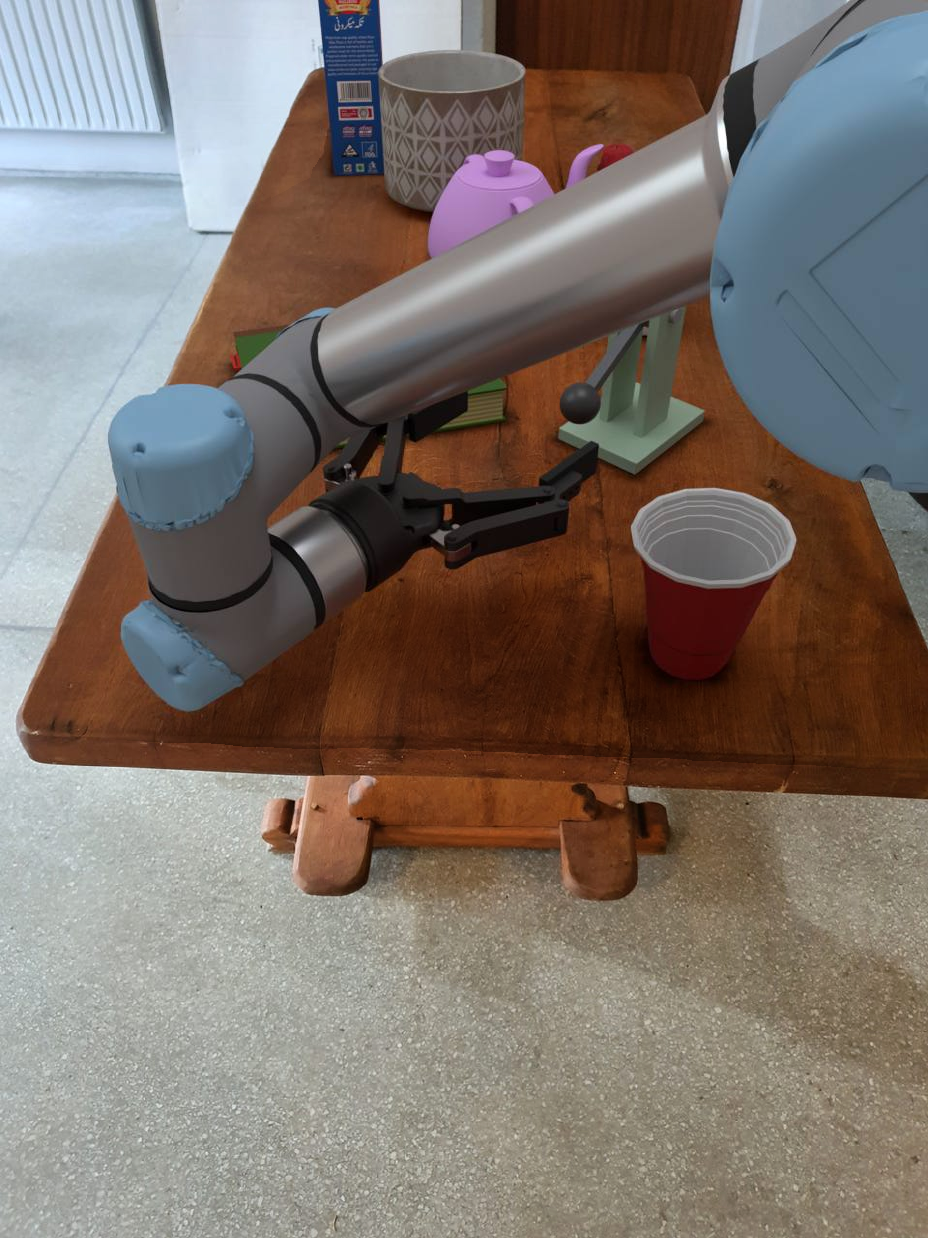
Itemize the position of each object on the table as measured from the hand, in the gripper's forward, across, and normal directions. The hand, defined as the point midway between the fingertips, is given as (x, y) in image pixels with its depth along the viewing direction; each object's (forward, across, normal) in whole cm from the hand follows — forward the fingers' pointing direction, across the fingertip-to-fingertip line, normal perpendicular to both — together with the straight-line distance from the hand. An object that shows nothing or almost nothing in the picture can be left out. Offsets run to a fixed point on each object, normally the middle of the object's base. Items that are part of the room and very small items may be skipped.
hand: (526, 424), depth 77 cm
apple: (+67, -38, -9) cm, 78 cm away
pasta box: (+57, -80, -9) cm, 99 cm away
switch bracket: (+17, 0, -9) cm, 19 cm away
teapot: (+38, -32, -9) cm, 51 cm away
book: (+4, -25, -9) cm, 27 cm away
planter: (+50, -53, -9) cm, 73 cm away
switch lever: (+13, 0, 0) cm, 13 cm away
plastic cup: (-5, +20, -9) cm, 23 cm away
